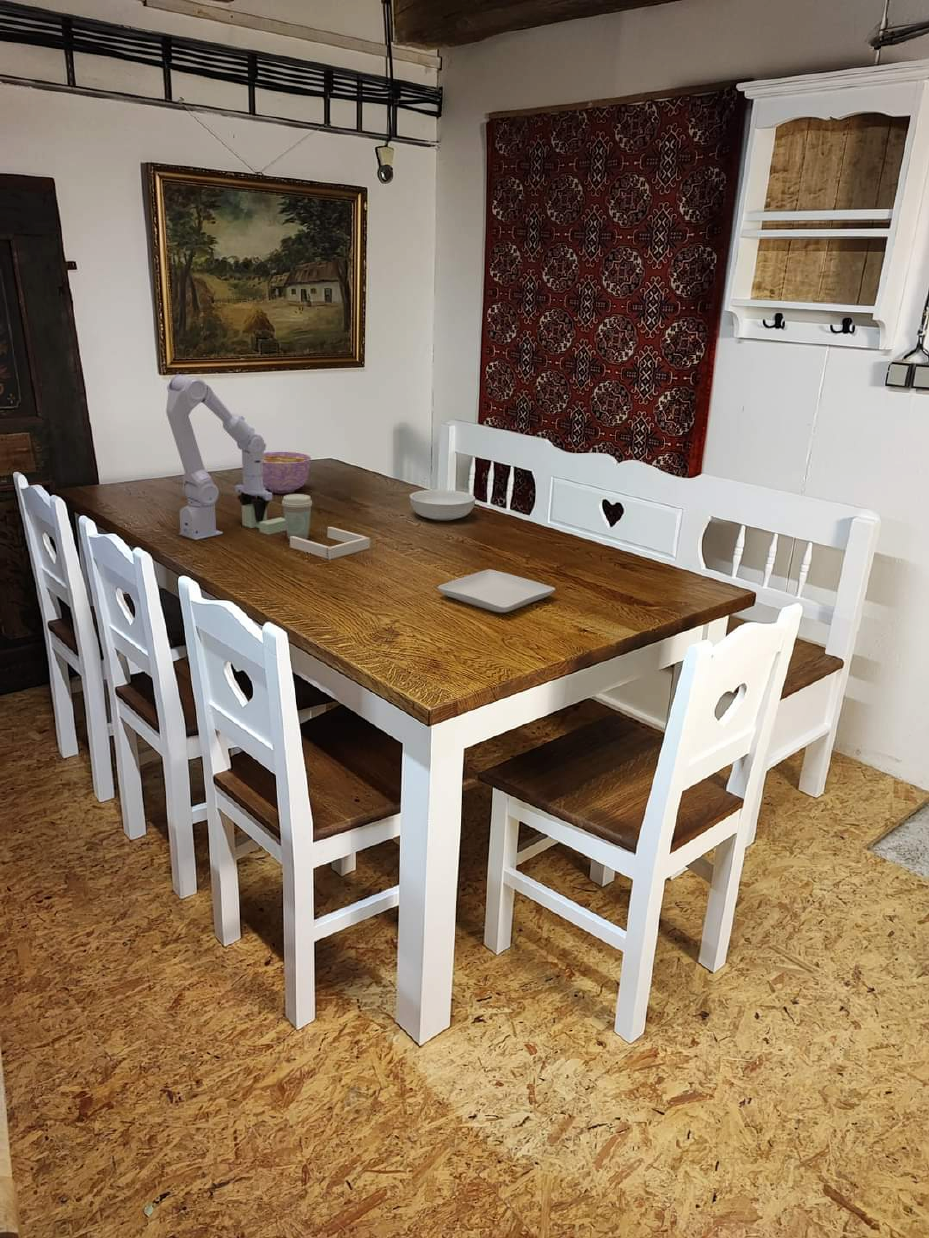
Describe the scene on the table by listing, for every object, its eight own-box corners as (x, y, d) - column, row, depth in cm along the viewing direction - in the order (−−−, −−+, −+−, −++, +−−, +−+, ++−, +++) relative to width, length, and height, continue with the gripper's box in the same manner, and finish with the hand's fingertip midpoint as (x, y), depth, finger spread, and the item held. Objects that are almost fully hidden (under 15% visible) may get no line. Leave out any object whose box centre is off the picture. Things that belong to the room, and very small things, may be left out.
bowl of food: (250, 484, 319) (248, 452, 315) (307, 483, 325) (306, 451, 320) (255, 498, 301) (254, 463, 297) (315, 496, 307) (315, 462, 303)
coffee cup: (276, 538, 258) (275, 497, 254) (295, 532, 266) (294, 492, 261) (300, 543, 255) (299, 502, 251) (318, 537, 262) (318, 496, 258)
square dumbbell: (268, 534, 262) (267, 514, 260) (239, 525, 269) (238, 506, 267) (289, 529, 268) (288, 509, 266) (261, 521, 275) (260, 501, 273)
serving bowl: (477, 511, 298) (478, 491, 296) (471, 528, 279) (472, 506, 276) (414, 507, 300) (414, 486, 297) (404, 523, 280) (404, 501, 278)
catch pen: (329, 559, 242) (329, 548, 241) (290, 547, 251) (289, 536, 250) (369, 548, 254) (370, 537, 253) (330, 536, 263) (330, 526, 262)
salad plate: (488, 579, 234) (489, 566, 233) (556, 599, 222) (557, 586, 220) (434, 599, 218) (434, 585, 217) (504, 622, 206) (505, 608, 205)
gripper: (279, 476, 264) (281, 521, 269) (247, 468, 273) (249, 512, 277) (260, 480, 259) (262, 526, 264) (228, 471, 267) (230, 516, 272)
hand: (254, 519), depth 270 cm, fingers closed on square dumbbell, 4 cm apart
